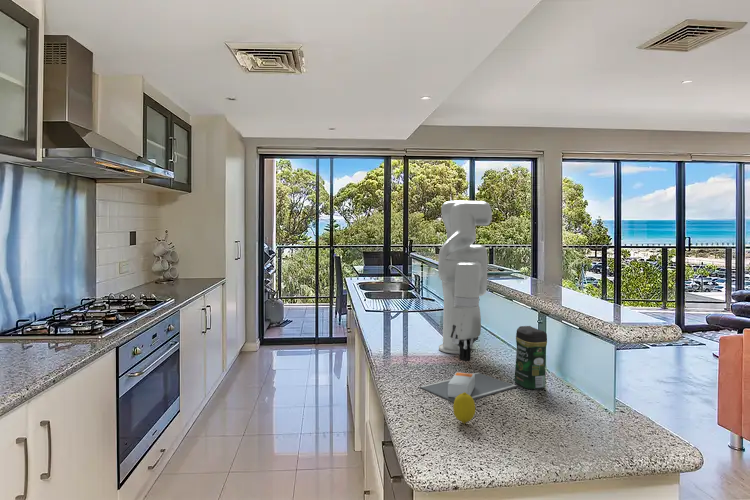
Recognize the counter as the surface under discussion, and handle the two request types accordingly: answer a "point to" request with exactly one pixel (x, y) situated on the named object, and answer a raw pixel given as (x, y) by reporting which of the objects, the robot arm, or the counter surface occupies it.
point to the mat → (482, 388)
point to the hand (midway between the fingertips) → (464, 360)
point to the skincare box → (461, 384)
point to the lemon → (464, 407)
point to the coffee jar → (530, 357)
